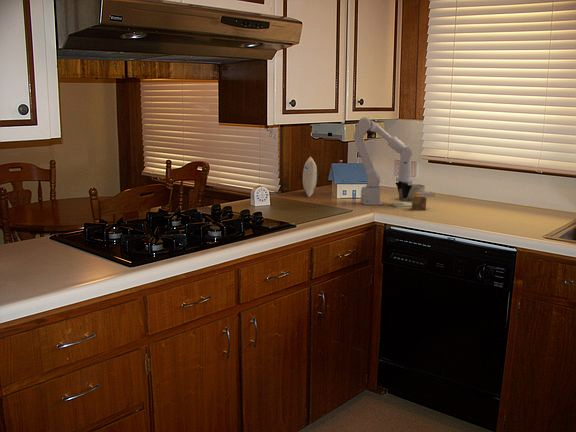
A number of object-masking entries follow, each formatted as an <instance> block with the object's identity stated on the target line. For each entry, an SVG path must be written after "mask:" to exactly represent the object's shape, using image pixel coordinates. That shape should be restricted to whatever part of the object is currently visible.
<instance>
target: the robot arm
mask: <svg viewBox="0 0 576 432" xmlns="http://www.w3.org/2000/svg"><path fill="white" fill-rule="evenodd" d="M354 129H355V130H354V133H353V140H354V141H353V142H354V143H355V146H356V148H357V151H358V154H359V156H360V159H361V162H362V164H363V167H364V170H365V172H366V177H367V184H366V185H365V186H362V187H361V188H360V190H361V191H360V201H359V203H361V204H363V205H365V206H372V205H373V206H375V205H377V206H378V205H382V206H383V203H382V202H381V199H380V198H381V185H380V182H381V176H380V175H379V173H378V172H377V171H376V168H375V166H374V164H373V161H372V158H371V156H370V153H369V149H368V147H367V145H366V142H365V139H364V137H365V136H366V135H365V134H366V133H367V131H370V132H374V133H376V134H377V135H379V136H380V137H381V138H382V139H384V140H385V141H387V145H388V146H389V148H391V149H392V150H393V151H394V152H395V153H396V154H399V156H400V158H399V159H400V160H399V162H398V163H399V166H398V176H396V179H395V181H396V182H395V185H396V187H397V191H398V194H399V189H400V188H402V193H403V198H407V197H408V194H409V191H410V189H411V187H412V184H413V179H412V178H411V171H412V170H411V169H412V161H411V160H412V156H413V152H412V151H413V150H412V149H411V148H410V146H408V145H407V144H406V143H404V142H403V141H402V140H401V138H400V137H399V136H395V135H394V136H392V135H390V134H389V133H388V132H387V131H386V130H385V129H383V128H382V127H381V126H380V125H379V124H378V123H377V122H374V121H373V120H371V119H370V118H369V117H366V116H364V117H361V118H360V119H359V121H358V122H357V124H356V126H355V128H354Z"/></svg>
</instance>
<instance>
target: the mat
mask: <svg viewBox="0 0 576 432" xmlns="http://www.w3.org/2000/svg"><path fill="white" fill-rule="evenodd" d="M390 205H392V206H393V207H396V208H402V207H403V208H405V207H406V208H407V207H408V208H409V207H412V203H411V202H409V201H399V202H390Z"/></svg>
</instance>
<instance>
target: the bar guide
mask: <svg viewBox="0 0 576 432" xmlns="http://www.w3.org/2000/svg"><path fill="white" fill-rule="evenodd" d="M427 199H428V197H414V196H413V198H412V201H411V202H412V203H411V204H412V206H411V209H412V210H415V211H426V210H427V209H426V208H427Z"/></svg>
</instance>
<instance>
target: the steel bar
mask: <svg viewBox="0 0 576 432" xmlns="http://www.w3.org/2000/svg"><path fill="white" fill-rule="evenodd" d="M414 197H425V198H435V197H436V192H433V191H425V192H414Z"/></svg>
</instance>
